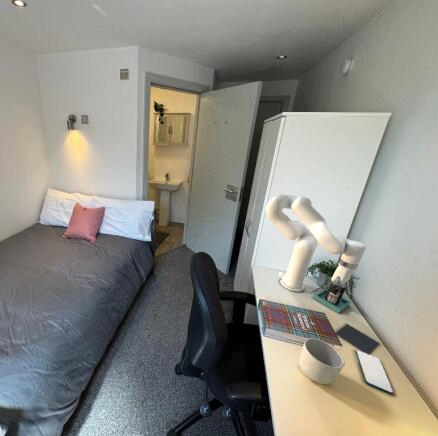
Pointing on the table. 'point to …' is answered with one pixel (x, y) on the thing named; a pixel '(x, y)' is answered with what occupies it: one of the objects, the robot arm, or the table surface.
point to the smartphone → (373, 371)
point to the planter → (320, 361)
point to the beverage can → (335, 298)
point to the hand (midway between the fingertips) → (335, 291)
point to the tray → (337, 308)
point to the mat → (357, 338)
